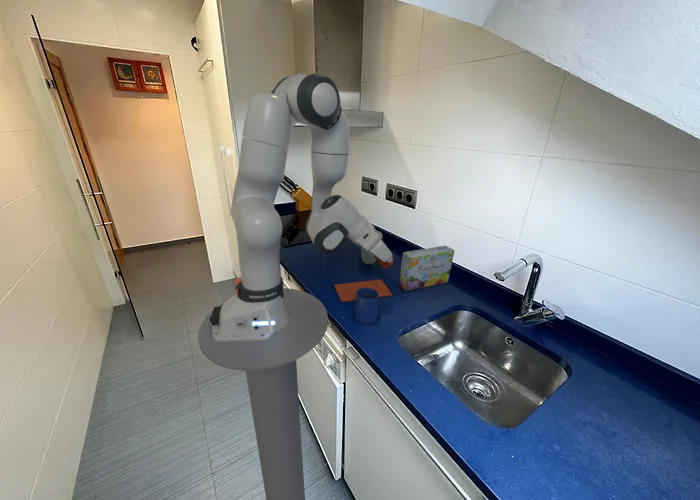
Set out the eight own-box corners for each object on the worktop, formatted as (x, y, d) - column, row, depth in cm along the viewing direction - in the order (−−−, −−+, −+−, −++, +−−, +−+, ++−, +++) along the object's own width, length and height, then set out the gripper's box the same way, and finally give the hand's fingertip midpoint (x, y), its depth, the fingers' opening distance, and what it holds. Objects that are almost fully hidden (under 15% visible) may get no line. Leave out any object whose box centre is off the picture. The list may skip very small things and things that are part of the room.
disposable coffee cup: (363, 254, 141) (365, 226, 135) (384, 259, 137) (386, 230, 131) (354, 263, 133) (355, 232, 126) (375, 268, 128) (377, 237, 122)
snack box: (406, 292, 110) (410, 257, 104) (398, 285, 115) (402, 251, 109) (448, 282, 118) (455, 249, 112) (439, 276, 123) (445, 244, 117)
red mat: (341, 302, 103) (341, 301, 103) (334, 285, 113) (334, 284, 113) (392, 295, 108) (392, 294, 108) (381, 280, 119) (381, 279, 118)
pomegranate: (376, 277, 101) (400, 263, 98) (364, 260, 100) (389, 246, 97) (377, 270, 108) (400, 257, 105) (366, 254, 107) (389, 240, 104)
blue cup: (358, 325, 91) (359, 301, 88) (352, 311, 98) (353, 289, 94) (380, 321, 93) (382, 298, 90) (372, 308, 100) (374, 286, 96)
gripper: (344, 229, 105) (367, 250, 112) (366, 250, 87) (391, 274, 94) (356, 216, 104) (378, 239, 111) (380, 235, 87) (405, 261, 94)
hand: (385, 255), depth 102 cm, fingers closed on pomegranate, 7 cm apart
